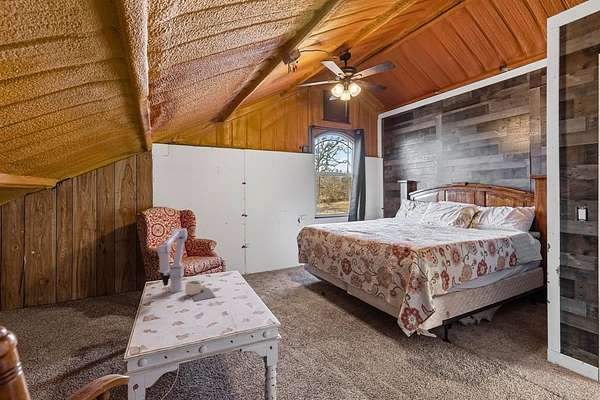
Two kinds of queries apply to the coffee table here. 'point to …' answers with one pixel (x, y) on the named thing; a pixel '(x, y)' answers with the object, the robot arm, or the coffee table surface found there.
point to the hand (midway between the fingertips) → (165, 283)
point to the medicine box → (194, 287)
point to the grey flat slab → (203, 295)
